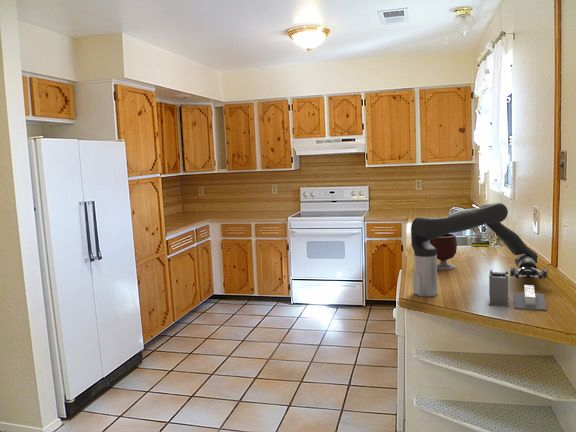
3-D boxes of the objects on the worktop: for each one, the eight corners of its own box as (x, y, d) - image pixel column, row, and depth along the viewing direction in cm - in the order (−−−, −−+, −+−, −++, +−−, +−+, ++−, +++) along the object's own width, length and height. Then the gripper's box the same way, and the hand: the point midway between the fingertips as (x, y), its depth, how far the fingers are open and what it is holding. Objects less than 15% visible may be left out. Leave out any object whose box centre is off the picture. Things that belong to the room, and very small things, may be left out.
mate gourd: (438, 263, 272) (437, 227, 270) (462, 266, 262) (461, 228, 260) (423, 268, 261) (422, 231, 259) (447, 271, 251) (446, 232, 249)
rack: (490, 297, 203) (489, 269, 202) (508, 299, 200) (508, 270, 199) (488, 305, 193) (488, 275, 192) (508, 306, 190) (508, 276, 189)
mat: (514, 293, 206) (514, 292, 206) (543, 295, 202) (543, 294, 202) (514, 308, 187) (514, 307, 187) (547, 310, 183) (547, 309, 183)
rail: (524, 293, 205) (524, 284, 204) (533, 293, 203) (533, 285, 203) (525, 305, 189) (525, 296, 188) (535, 306, 187) (535, 297, 187)
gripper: (510, 259, 226) (510, 267, 211) (545, 260, 220) (547, 268, 205) (510, 275, 227) (510, 284, 212) (545, 276, 221) (547, 286, 206)
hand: (528, 276), depth 209 cm, fingers open, 8 cm apart
